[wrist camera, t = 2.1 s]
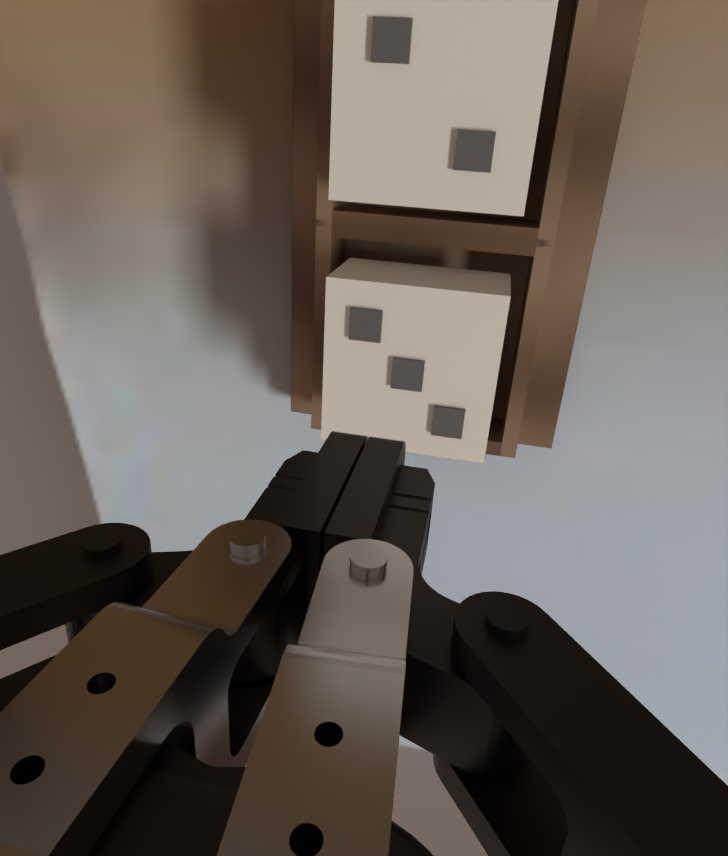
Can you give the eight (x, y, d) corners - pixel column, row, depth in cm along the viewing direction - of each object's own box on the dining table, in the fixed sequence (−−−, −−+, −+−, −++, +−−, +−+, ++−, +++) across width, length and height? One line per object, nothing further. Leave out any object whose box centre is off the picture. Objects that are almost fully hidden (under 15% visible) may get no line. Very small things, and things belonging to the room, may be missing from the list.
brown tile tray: (311, -384, 16) (269, -493, 13) (725, -412, 15) (778, -543, 12) (299, 399, 26) (274, 432, 23) (549, 434, 24) (554, 474, 21)
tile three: (350, 257, 20) (324, 278, 17) (510, 273, 19) (510, 297, 16) (343, 402, 22) (319, 441, 19) (487, 422, 21) (483, 465, 18)
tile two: (363, -8, 17) (334, -36, 14) (554, -2, 16) (564, -31, 13) (353, 190, 19) (326, 200, 16) (521, 204, 18) (523, 217, 15)
